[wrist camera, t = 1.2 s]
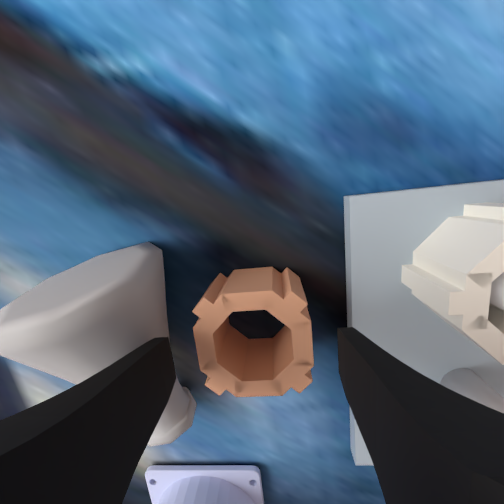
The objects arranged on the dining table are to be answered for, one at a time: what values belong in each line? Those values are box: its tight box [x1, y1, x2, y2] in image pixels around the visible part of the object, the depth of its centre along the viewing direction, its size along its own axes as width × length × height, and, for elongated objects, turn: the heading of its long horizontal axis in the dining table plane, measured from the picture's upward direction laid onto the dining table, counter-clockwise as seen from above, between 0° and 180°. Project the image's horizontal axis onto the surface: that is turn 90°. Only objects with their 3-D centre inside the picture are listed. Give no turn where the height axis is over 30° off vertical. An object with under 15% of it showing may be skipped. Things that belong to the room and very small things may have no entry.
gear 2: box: [401, 202, 504, 365], centre depth 11 cm, size 5×5×4 cm
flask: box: [0, 242, 197, 447], centre depth 13 cm, size 7×7×10 cm
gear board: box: [344, 179, 504, 465], centre depth 12 cm, size 16×12×5 cm
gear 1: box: [192, 267, 314, 397], centre depth 13 cm, size 5×5×4 cm
